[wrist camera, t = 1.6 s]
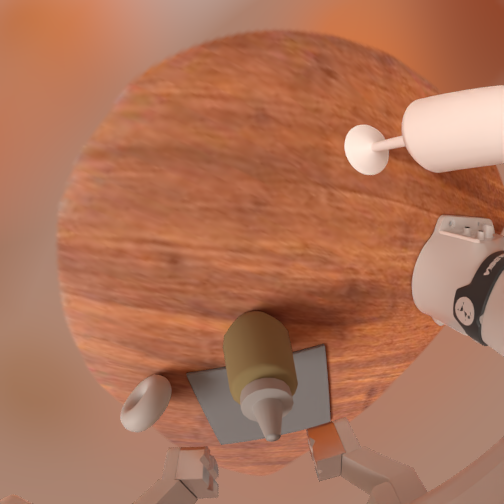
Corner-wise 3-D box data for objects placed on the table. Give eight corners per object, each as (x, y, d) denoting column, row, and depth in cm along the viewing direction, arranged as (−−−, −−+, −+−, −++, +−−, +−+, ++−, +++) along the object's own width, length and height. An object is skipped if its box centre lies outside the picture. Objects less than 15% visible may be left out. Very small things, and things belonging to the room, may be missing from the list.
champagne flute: (336, 130, 30) (491, 64, 6) (378, 120, 30) (528, 72, 6) (354, 181, 31) (526, 187, 8) (395, 167, 31) (554, 167, 8)
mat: (323, 343, 36) (324, 345, 36) (329, 420, 40) (330, 421, 40) (186, 372, 36) (186, 374, 35) (221, 442, 40) (221, 444, 39)
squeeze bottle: (297, 325, 35) (343, 424, 18) (256, 364, 36) (273, 469, 18) (252, 289, 33) (272, 387, 16) (210, 333, 34) (199, 441, 17)
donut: (163, 358, 35) (146, 406, 25) (181, 373, 36) (170, 421, 26) (127, 388, 36) (108, 431, 26) (144, 401, 37) (129, 445, 27)
